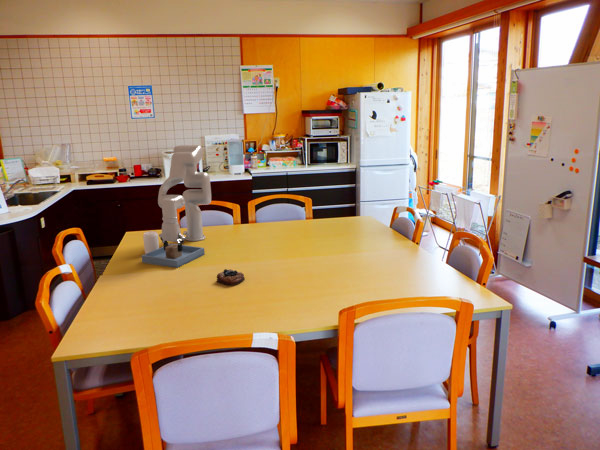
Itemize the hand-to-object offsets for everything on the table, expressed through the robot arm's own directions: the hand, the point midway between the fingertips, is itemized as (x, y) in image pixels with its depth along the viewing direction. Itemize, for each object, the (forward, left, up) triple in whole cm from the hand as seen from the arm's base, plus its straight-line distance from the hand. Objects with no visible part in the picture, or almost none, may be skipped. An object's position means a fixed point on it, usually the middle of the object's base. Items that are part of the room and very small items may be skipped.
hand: (173, 250), depth 263 cm
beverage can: (-19, +4, -5) cm, 20 cm away
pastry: (+49, -17, -5) cm, 52 cm away
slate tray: (0, 0, -5) cm, 5 cm away
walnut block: (0, 0, -4) cm, 4 cm away
